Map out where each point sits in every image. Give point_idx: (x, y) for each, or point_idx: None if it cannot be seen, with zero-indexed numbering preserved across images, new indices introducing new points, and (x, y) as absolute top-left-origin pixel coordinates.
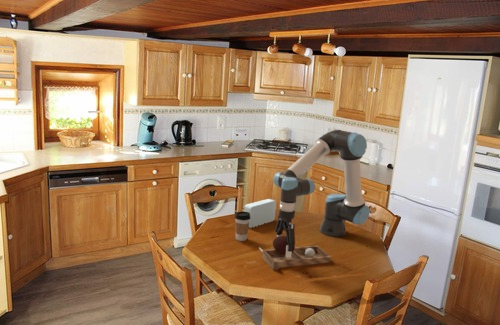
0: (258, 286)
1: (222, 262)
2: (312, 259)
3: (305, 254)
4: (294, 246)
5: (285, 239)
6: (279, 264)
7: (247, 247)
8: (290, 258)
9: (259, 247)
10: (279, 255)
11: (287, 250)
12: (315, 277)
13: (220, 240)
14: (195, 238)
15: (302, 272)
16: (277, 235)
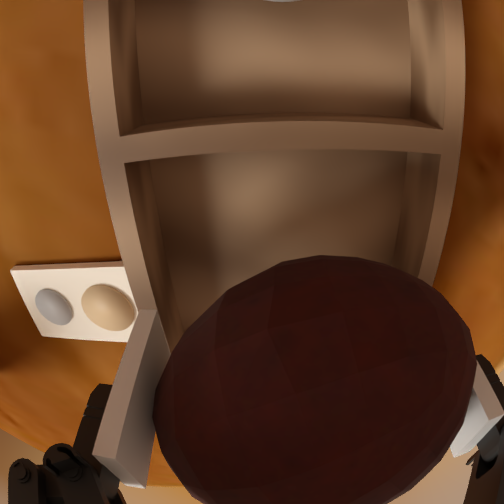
0: None
1: None
2: (457, 23)
3: (281, 1)
4: (463, 329)
5: (389, 501)
6: None
7: (52, 372)
8: (259, 181)
9: (43, 334)
10: (176, 262)
11: None
12: None
13: (26, 417)
14: (44, 452)
15: (483, 177)
16: (139, 487)
